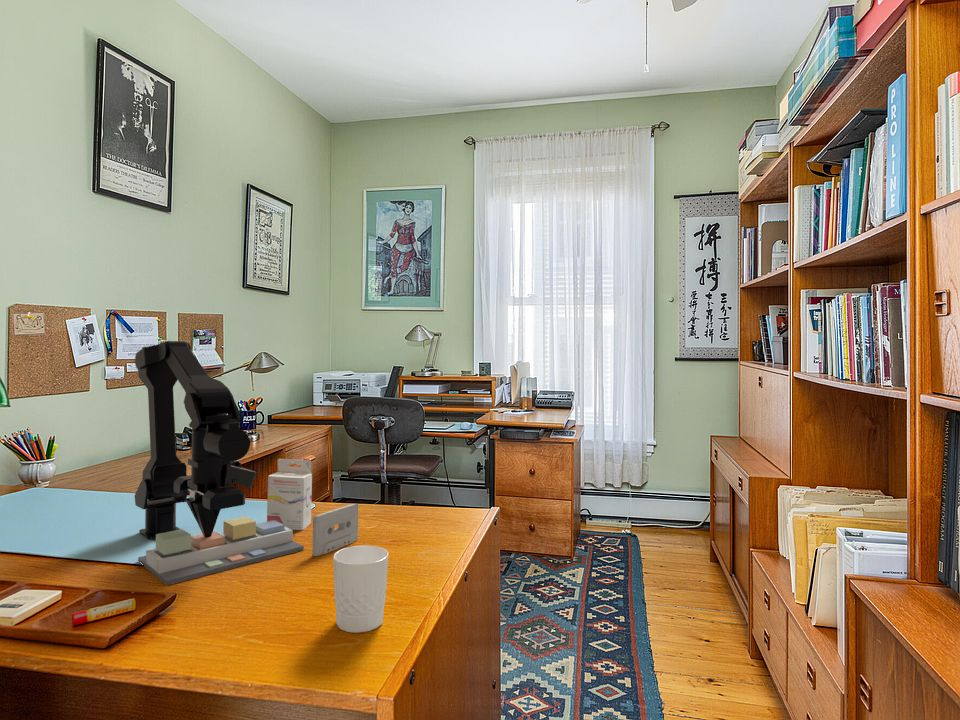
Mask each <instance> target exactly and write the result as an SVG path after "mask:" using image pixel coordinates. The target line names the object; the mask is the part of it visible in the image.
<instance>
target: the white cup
mask: <svg viewBox="0 0 960 720" xmlns="http://www.w3.org/2000/svg"><path fill="white" fill-rule="evenodd" d="M332 561H333V586H334V587H333V589H334V605H335V624H336V626H337V628H338V629H339V630H341V631H344V632H347V633H355V634H359V633H367V632H370V631H372V630H373V631H374V630H375V629H378V628H379V627H380V626H381V625H382V624H383V622H384V614H385V613H384V611H385V604H386V595H387V585H388V581H387V580H388V567H389V566H388V565H389V551H388V550H387V549H386V548H383V547H381V546H376V545H354V546H348V547H343V548H342V549H341V548H340V550H337V551H336V552H334V554H333V560H332Z"/></svg>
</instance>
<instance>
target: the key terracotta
mask: <svg viewBox="0 0 960 720" xmlns="http://www.w3.org/2000/svg"><path fill="white" fill-rule="evenodd" d="M222 535H223V534H220V532H219V533H218V532H216V531H213V533H212V535H211V536H210V537H204V536H203V534H202V533H200V534H196V535H191V546H193V547H194V548H196V549H197V550H202V549H207V548H211V547H215V546H220V545H224V544H225V537H224V536H222Z"/></svg>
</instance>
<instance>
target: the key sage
mask: <svg viewBox="0 0 960 720" xmlns="http://www.w3.org/2000/svg"><path fill="white" fill-rule="evenodd" d="M191 536H192V534H191V533H189V532H187V531H186V530H184V528H183V529H181V528H180V530H175V531H170V532H165V533H160V534H156V538H155V549H157V550H158V551H159V552H161V553H162V554H164V555H167V554H171V553H176V552H180V551H185V550H189V549H191Z"/></svg>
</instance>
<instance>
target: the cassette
mask: <svg viewBox="0 0 960 720" xmlns="http://www.w3.org/2000/svg"><path fill="white" fill-rule="evenodd" d="M337 525H338V528H335V526H337ZM358 539H359V504H358V503H351V504H348V505H345V506H341V507H339V508H335V509H332V510H329V511H326V512H323V513H320V514H316V515H313V517H312V550H311V551H312V556H314V557H319V556H321V555H326V554H328V553H330V552H333V551H336V550H338V549H341V548H344V547H345V546H347V545H351V544H353V543H354V542H356V541H358Z"/></svg>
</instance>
